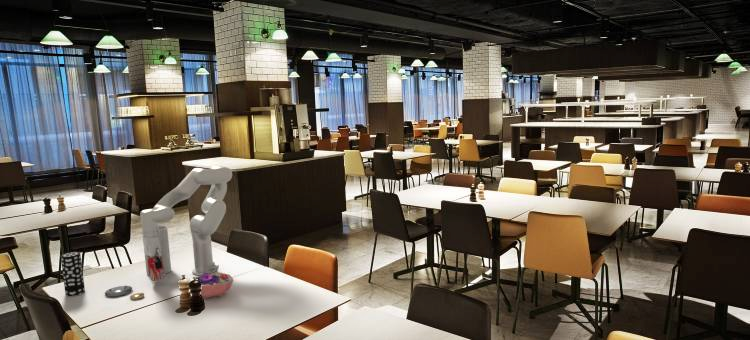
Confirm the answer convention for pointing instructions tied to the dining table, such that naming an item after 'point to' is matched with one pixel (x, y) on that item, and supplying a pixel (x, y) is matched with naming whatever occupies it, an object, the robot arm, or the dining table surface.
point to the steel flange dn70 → (118, 291)
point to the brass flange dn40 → (137, 296)
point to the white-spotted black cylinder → (72, 273)
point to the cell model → (215, 284)
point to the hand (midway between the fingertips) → (155, 266)
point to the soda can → (155, 270)
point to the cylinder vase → (162, 249)
